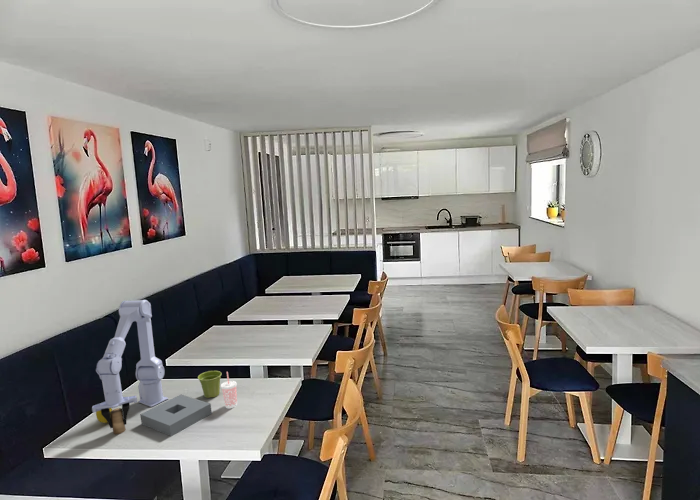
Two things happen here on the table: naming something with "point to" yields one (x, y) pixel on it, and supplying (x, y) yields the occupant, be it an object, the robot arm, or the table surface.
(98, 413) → the lemon
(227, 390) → the beverage cup
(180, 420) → the socket block
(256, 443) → the table surface
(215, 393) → the plant pot
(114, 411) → the peg
